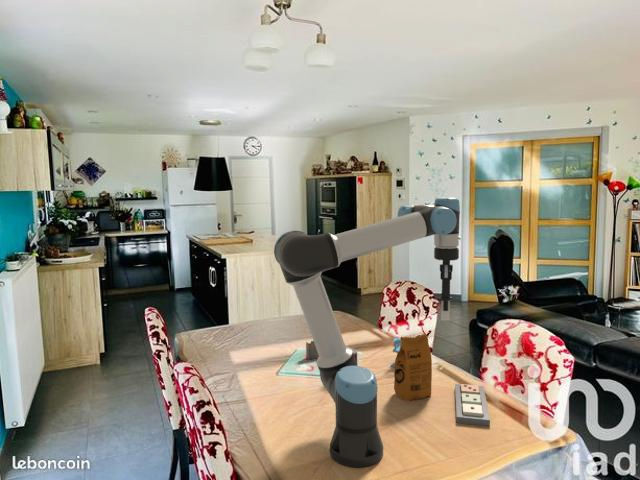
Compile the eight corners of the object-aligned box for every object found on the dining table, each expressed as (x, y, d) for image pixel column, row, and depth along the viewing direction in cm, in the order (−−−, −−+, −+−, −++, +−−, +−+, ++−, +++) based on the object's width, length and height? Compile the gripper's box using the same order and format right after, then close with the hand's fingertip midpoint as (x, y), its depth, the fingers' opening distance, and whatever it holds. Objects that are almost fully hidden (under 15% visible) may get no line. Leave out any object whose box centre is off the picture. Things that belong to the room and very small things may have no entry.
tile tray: (489, 426, 151) (489, 420, 150) (456, 422, 153) (456, 416, 153) (483, 391, 176) (483, 386, 175) (455, 389, 178) (455, 383, 178)
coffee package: (390, 391, 177) (390, 333, 174) (420, 386, 181) (420, 329, 178) (404, 403, 167) (404, 341, 165) (434, 397, 172) (435, 337, 169)
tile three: (479, 399, 168) (479, 391, 168) (461, 397, 170) (461, 390, 170) (478, 392, 174) (478, 384, 174) (460, 390, 176) (460, 383, 175)
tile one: (482, 420, 153) (482, 412, 153) (463, 418, 155) (463, 410, 154) (481, 412, 159) (481, 404, 158) (462, 410, 160) (462, 402, 160)
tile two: (480, 409, 161) (481, 401, 160) (462, 407, 162) (462, 400, 162) (479, 401, 166) (479, 394, 166) (461, 400, 168) (461, 392, 168)
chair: (413, 363, 205) (414, 335, 204) (408, 369, 197) (409, 341, 196) (396, 360, 208) (396, 333, 207) (390, 367, 200) (390, 339, 199)
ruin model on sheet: (329, 354, 218) (328, 333, 217) (332, 356, 215) (331, 335, 214) (306, 358, 213) (305, 337, 212) (308, 360, 210) (308, 339, 209)
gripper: (459, 249, 144) (457, 326, 147) (458, 244, 157) (457, 315, 160) (433, 249, 146) (432, 324, 149) (434, 244, 159) (433, 313, 161)
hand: (445, 319), depth 154 cm, fingers closed
